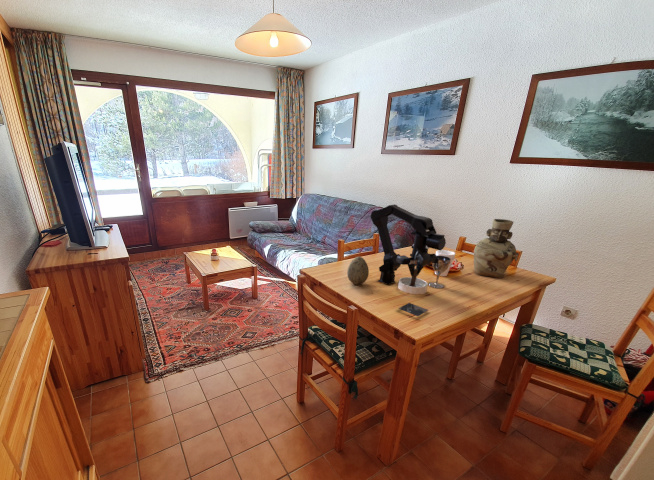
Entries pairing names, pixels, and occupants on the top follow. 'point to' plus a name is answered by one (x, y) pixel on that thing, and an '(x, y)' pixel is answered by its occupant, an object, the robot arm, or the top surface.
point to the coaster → (413, 309)
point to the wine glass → (440, 269)
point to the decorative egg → (358, 271)
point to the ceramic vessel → (495, 250)
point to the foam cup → (447, 254)
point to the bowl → (404, 286)
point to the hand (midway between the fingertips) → (414, 275)
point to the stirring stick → (414, 278)
